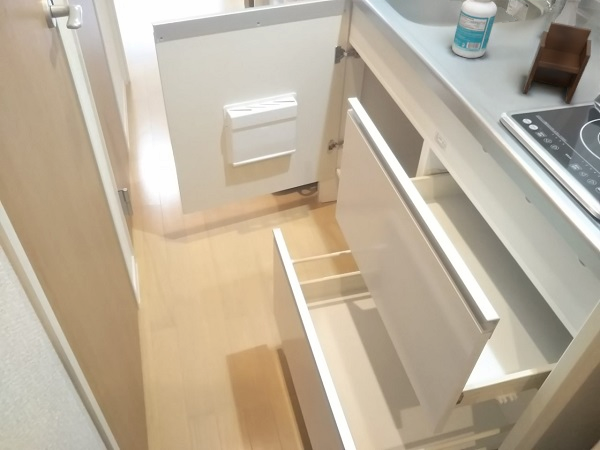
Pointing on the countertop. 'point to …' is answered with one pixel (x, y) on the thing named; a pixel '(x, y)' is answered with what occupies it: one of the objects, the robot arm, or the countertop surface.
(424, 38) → the countertop surface
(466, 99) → the countertop surface
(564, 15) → the flask
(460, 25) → the pill bottle
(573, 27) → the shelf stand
